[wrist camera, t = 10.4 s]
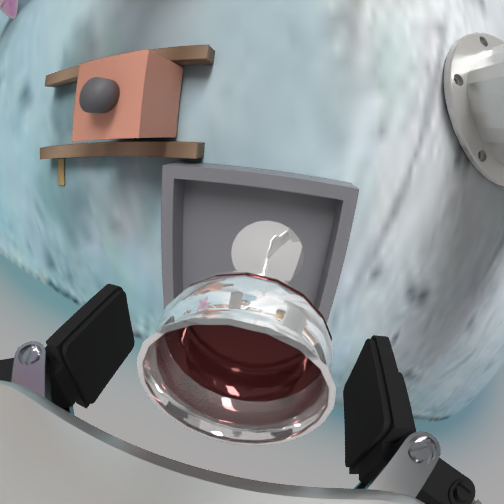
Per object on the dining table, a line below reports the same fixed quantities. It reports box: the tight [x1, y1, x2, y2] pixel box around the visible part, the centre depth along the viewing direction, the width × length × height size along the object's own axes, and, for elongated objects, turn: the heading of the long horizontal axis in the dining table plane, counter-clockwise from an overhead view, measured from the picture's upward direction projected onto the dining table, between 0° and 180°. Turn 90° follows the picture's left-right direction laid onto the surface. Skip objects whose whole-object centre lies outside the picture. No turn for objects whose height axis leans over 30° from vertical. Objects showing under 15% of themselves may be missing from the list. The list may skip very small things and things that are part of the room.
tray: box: [161, 162, 359, 324], centre depth 19 cm, size 12×12×2 cm
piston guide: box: [40, 45, 215, 185], centre depth 17 cm, size 15×10×2 cm
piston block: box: [72, 49, 183, 141], centre depth 14 cm, size 5×5×6 cm
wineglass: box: [137, 221, 336, 446], centre depth 14 cm, size 7×7×12 cm
